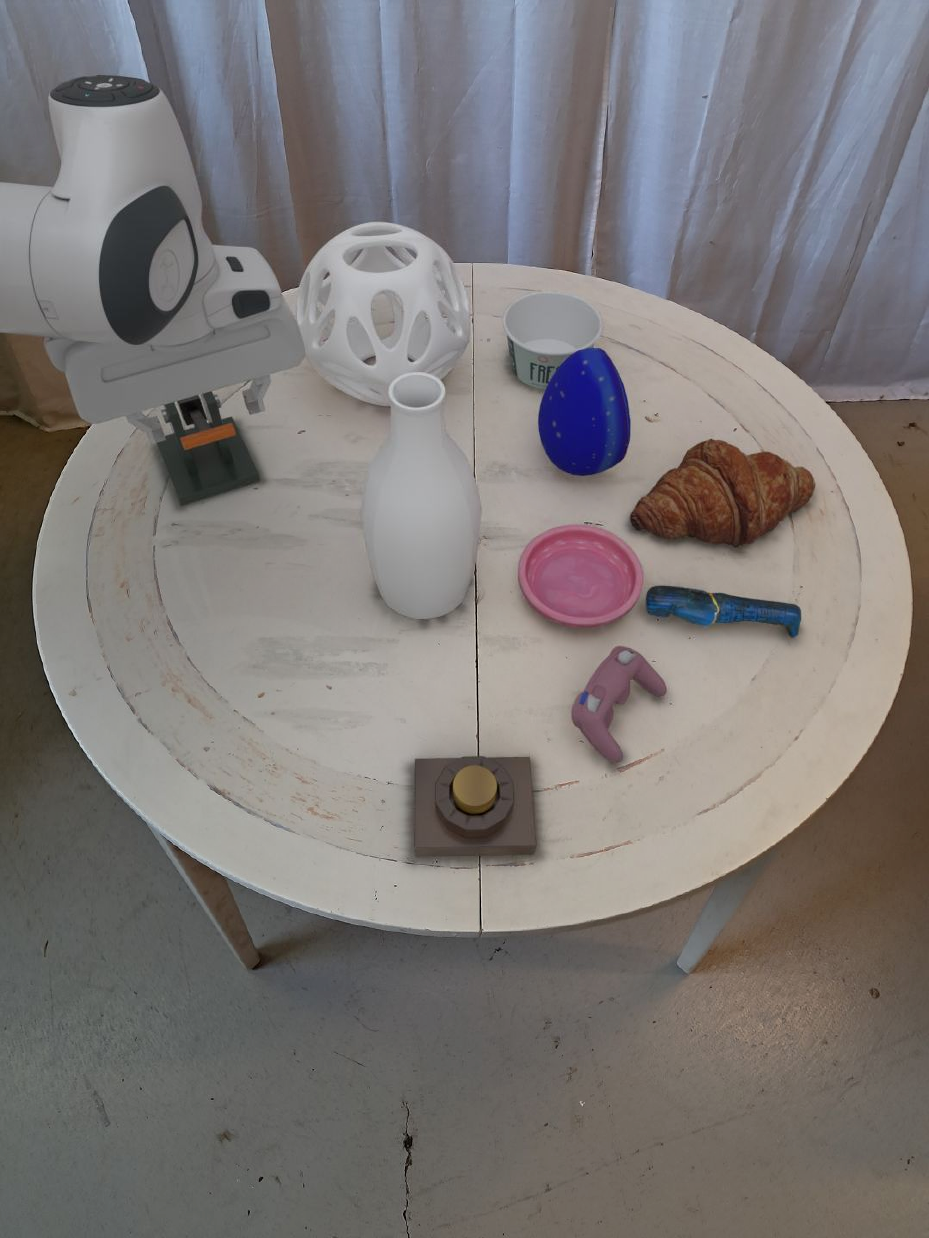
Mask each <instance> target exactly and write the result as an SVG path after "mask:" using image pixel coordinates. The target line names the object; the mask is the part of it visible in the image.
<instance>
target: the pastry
mask: <svg viewBox="0 0 929 1238" xmlns="http://www.w3.org/2000/svg"><path fill="white" fill-rule="evenodd" d="M816 486H817V485H816V481H815V478H814V476H813V473H811V471H810V470H808V469H806V468H805V467H804V466H793V465H792V464H791V463H790V462H788V461H786V459H784V458H782V457H781V456H779V455H778V454H775V453H773V452H771V451H762V452H757V453H751V454H746V453H745V452H743V451H741V450H740V448H739V447H737V446H736V445H733V444H730V443H728V442H727V441H725V440H721V439H713V438H709V439H707V440H704V441H701V442H698V443H696V444H695V445H693V446H691V447H690V448H689V449H687V450H686V452H685V453H684V455H683V458H682V460H681V462H680V464H679V465H678V467H674V468H672V469H669V470H668V471H666V473H664V474H663V475H662V476H660V478H659V479H658V480H657V481H656V483H655V485H654V486H652V488H651V489H650V491H649V492H648V493H647V494H646V495H645V496H641V497H640V499H639V500H638V501H637V503H636V505H635V507H634V508H633V509H632V511H631V513H630V515H629V520H630V522H631V526H632V527H633V528H634V529H635V530H636V531H642V530H645V531H647V532H649V533H651V535H654V536H657V537H659V538H663V539H666V540H667V539H668V540H669V539H670V540H676V539H684V538H687V537H689V538H695V539H697V540H698V541H699V540H700V541H702V542H705V543H709V544H713V545H723V544H725V545H727V546H731V547H733V548H739V547H742V546H744V545H751V544H753V543H754V542H755V541H756V539H758V538H759V537H760V538H761V537H763V536H765V535H766V534H768V533H769V532H772V531H774V530H775V529H776V528H777V526H778V525H779V523H780V522H783V521H784V520H785V519H786V517H787V516H788V515H789V514H791V513H796V512H797V511H799V510H800V509H802V508H803V507H804V506H805V505H806V504H807V503H808V502H809V501H810V500H811V498H812V497H813V495H814V491H815V489H816Z"/></svg>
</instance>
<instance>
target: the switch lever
mask: <svg viewBox="0 0 929 1238" xmlns="http://www.w3.org/2000/svg"><path fill="white" fill-rule="evenodd" d="M176 404H177V406H178V408H179V411H180V414H181V418H182V420H183V421H184V423H185V425H186V426H188V427H189V426H191V425H193V426H194V427H195V428H196V429H197V431H198V433H195V434H192V435H188V436H185V437H181V438H180V439H181V442H182V445H183V448H184V450H187V449H191V448H194V447H197V446H201V445H204V444H207V443H211V442H214V441H217V440H221V439H224V438H227V437H231V436H234V435H236V433H235V429H234V427H233V424H232V423H229V424H225V425H222V426H219V427H215V428H212V429H211V427H210V426H209V424H208V423H209V422H208V419H207V415H206V412H205V408H204V405H203V402H202V399H201V396H200V395H196V396H193V397H189V398H186V399H183V400H179V401H176Z"/></svg>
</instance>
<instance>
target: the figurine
mask: <svg viewBox="0 0 929 1238" xmlns="http://www.w3.org/2000/svg"><path fill="white" fill-rule="evenodd" d="M645 610H646V613H647V614H648V615H649V616H654V617H657V618H658V617H659V618H667V617H670V615H671V616H674V617H676V618H679V619H681V620H683V621H686V622H687V623H691V624H694V625H698V626H701V627H709V626H711V625H712V624H719V625H720V624H721V625H722V624H723V625H726V624H736V623H738V624H739V623H745V622H750V623H751V622H752V623H758V624H765V625H774V626H783V627H784V628H785V629H786V631H787V634H788V636H789V637H790V638H796V637H797V636H799V631H800V625H801V622H802V610H801V607H800V606H798V605H797V604H795V603H788V602H783V601H775V600H767V599H759V598H752V597H751V598H750V597H746V596H745V597H743V596H738V595H737V596H736V595H732V594H728V593H726V592H707V591H706V590H704V589H703V590H702V589H698V588H693V587H692V588H691V587H684V586H677V585H662V584H660V585H659V584H658V585H654V586H651V587H650V588H648V590H647V591H646V594H645Z"/></svg>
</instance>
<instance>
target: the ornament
mask: <svg viewBox="0 0 929 1238" xmlns="http://www.w3.org/2000/svg"><path fill="white" fill-rule="evenodd" d="M629 406H630V405H629V400H628V395H627V392H626V388H625V385H624V381H623V380H622V377H621V376H620V373H619V371H618V369H617V368H616V365H615V363H614V362H613V361H612V359H611V357H610V356H609V355H608V353H607V352H606V350H604V349H602V348H600V347H593V348H586V349H582V350H578V351H576V352H575V353H573V354H572V355H570V356H569V357H568V358H566V359H565V361H564V362H563V363H562V364H561V365H560V366H559V368H558V369H557V370H556V372H555V373H554V375H553V376H552V378H551V380H550V382H549V384H548V385H547V387H546V390H544V391H543V395H542V397H541V401H540V404H539V409H538V415H537V416H538V417H537V418H538V419H537V430H538V435H539V439H540V443H541V446H542V448H543V450H544V452H545V454H546V457H547V458H548V459H549V461H550V462H551V463H552V464H553V465H554V466H555V467H556V468H558V469H559V470H560V471H562V472H564V473H566V474H570V475H573V476H580V477H587V476H594V475H598V474H601V473H604V472H606V471H607V470H610V469H613V468H614V467H615V466H617V465H618V464H620V463H621V462H622V461H623V460H624V459H625V457H626V456H627V452H628V449H629V445H630V443H631V429H632V428H631V427H632V425H631V424H632V423H631V415H630V407H629Z"/></svg>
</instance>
